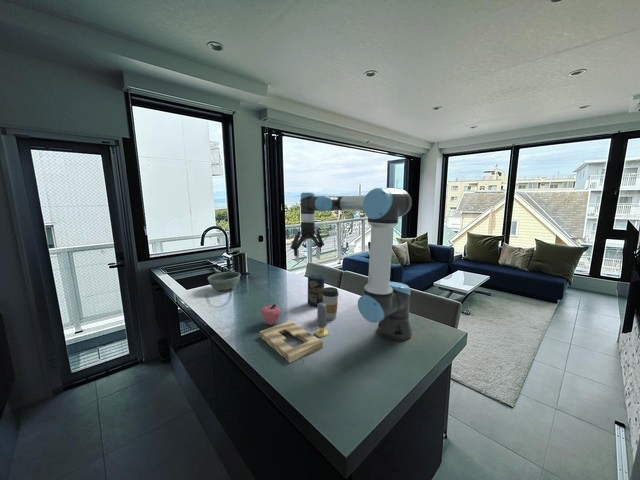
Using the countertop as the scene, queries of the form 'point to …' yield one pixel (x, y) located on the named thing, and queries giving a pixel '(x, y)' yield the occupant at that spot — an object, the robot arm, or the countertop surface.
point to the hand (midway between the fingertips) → (307, 260)
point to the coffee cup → (330, 302)
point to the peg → (321, 320)
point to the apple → (270, 314)
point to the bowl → (224, 280)
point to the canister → (315, 289)
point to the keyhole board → (290, 354)
